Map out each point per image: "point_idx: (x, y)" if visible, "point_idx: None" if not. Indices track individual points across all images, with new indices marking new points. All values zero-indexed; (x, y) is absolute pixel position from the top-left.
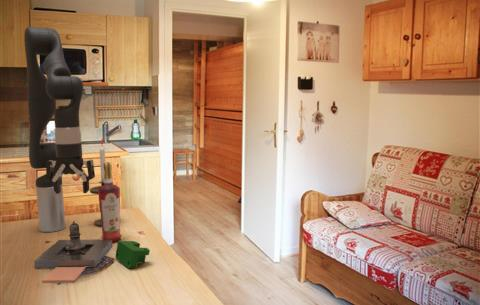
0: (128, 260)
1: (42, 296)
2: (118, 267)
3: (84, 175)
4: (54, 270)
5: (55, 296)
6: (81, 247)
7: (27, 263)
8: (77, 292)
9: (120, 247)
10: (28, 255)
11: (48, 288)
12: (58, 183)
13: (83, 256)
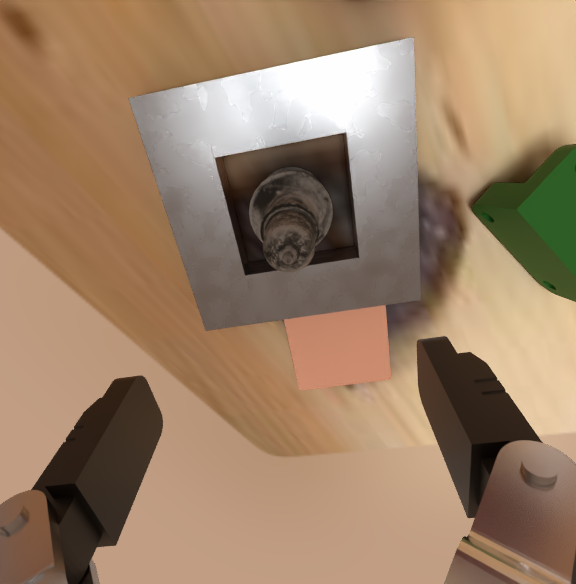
0: (553, 284)
1: (345, 438)
2: (496, 270)
3: (521, 553)
4: (293, 334)
5: (376, 436)
6: (327, 227)
7: (152, 282)
8: (422, 416)
9: (522, 231)
10: (91, 215)
11: (336, 408)
12: (112, 499)
13: (363, 276)
